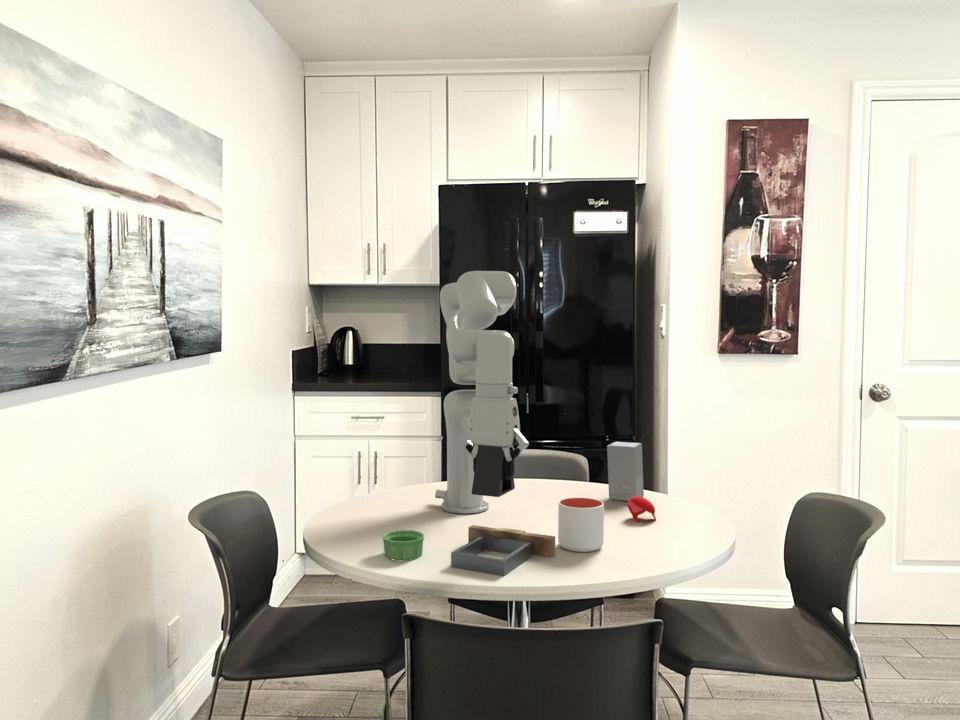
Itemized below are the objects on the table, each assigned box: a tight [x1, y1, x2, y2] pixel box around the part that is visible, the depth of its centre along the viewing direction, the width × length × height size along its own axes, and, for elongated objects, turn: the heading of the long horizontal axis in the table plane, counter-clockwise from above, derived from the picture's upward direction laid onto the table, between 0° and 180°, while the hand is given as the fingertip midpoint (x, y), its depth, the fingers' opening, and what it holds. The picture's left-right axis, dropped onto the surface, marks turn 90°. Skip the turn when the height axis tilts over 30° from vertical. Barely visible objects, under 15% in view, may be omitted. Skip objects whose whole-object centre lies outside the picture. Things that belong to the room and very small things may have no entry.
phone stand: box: [472, 445, 516, 498], centre depth 165 cm, size 9×6×12 cm, turn 155°
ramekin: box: [382, 529, 425, 561], centre depth 170 cm, size 9×9×4 cm
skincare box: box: [606, 441, 645, 502], centre depth 221 cm, size 8×7×16 cm
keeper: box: [450, 534, 534, 577], centre depth 166 cm, size 12×15×3 cm
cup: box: [557, 497, 605, 553], centre depth 176 cm, size 10×10×10 cm
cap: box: [626, 496, 657, 523], centre depth 199 cm, size 8×6×6 cm
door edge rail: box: [467, 524, 556, 558], centre depth 174 cm, size 20×2×4 cm, turn 64°
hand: (493, 476), depth 165 cm, fingers closed on phone stand, 6 cm apart
